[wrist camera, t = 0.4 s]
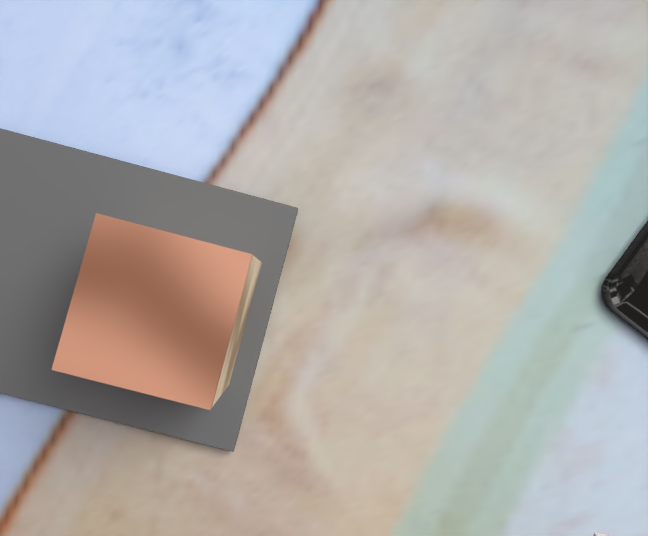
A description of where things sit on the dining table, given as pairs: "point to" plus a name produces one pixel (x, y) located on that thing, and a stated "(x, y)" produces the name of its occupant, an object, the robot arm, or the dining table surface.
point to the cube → (157, 312)
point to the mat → (65, 262)
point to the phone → (630, 284)
